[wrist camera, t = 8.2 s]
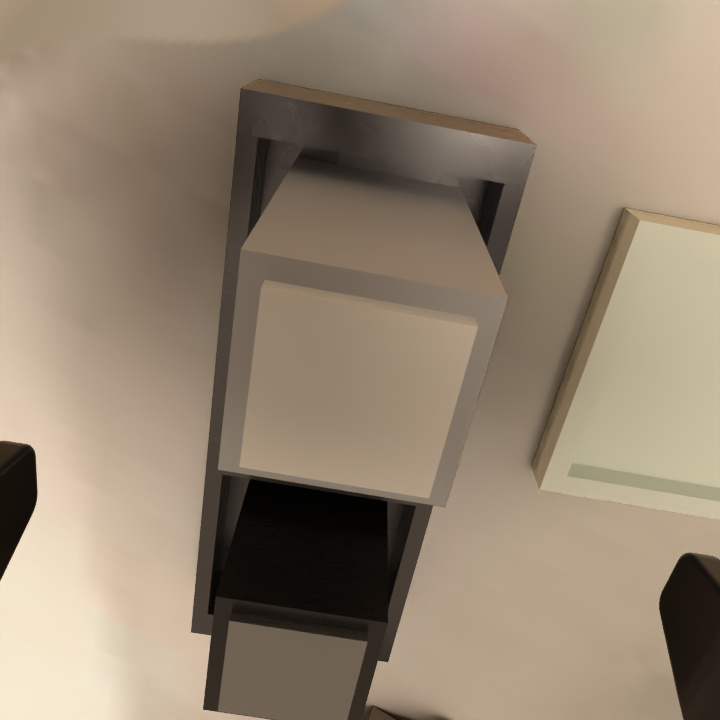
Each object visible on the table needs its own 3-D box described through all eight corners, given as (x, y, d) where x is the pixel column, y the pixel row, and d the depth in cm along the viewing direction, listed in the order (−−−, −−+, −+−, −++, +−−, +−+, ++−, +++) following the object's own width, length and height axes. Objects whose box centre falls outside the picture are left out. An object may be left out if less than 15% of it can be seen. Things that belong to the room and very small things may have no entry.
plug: (424, 336, 21) (446, 520, 13) (276, 309, 20) (213, 482, 13) (460, 188, 18) (512, 307, 11) (296, 157, 18) (236, 257, 11)
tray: (756, 503, 24) (775, 529, 22) (531, 466, 23) (539, 489, 22) (893, 258, 20) (925, 274, 18) (624, 207, 19) (640, 220, 18)
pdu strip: (387, 607, 26) (388, 784, 20) (207, 579, 26) (153, 750, 20) (517, 129, 18) (584, 186, 12) (258, 79, 18) (194, 112, 12)
